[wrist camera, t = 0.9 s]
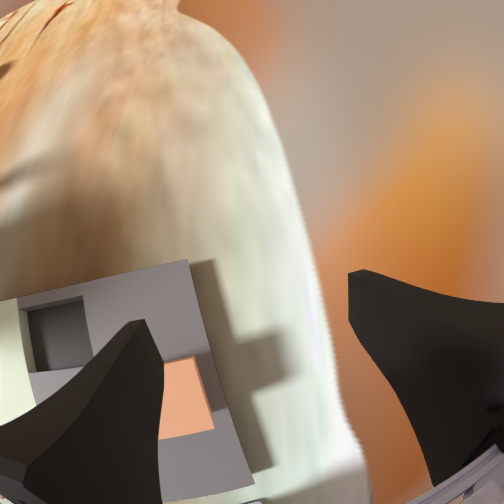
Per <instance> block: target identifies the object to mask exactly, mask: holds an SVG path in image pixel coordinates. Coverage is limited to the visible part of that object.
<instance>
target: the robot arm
mask: <svg viewBox="0 0 504 504" xmlns="http://www.w3.org/2000/svg"><path fill="white" fill-rule="evenodd" d="M348 296H349V322H350V324H351V326H352V328H353V330H354V332H355V334H356V336H357V338H358V339H359V341H360V343H361V344H362V346H363V347H364V348H365V350H366V351H367V352H368V354H369V355H370V357H371V358H372V359H373V361H374V362H375V364H376V365H377V366H378V368H379V369H380V371H381V372H382V373H383V375H384V376H385V378H386V379H387V380H388V382H389V383H390V385H391V386H392V388H393V389H394V391H395V392H396V394H397V397H398V398H399V400H400V402H401V404H402V406H403V408H404V410H405V412H406V414H407V416H408V418H409V421H410V423H411V425H412V427H413V429H414V432H415V434H416V437H417V439H418V442H419V444H420V447H421V449H422V452H423V455H424V458H425V461H426V464H427V467H428V470H429V473H430V477H431V481H432V484H433V486H434V488H433V489H431V490H429V491H428V492H426V493H424V494H422V495H420V496H419V497H417V498H415V499H413V500H411V501H409V502H407V503H405V504H448V503H450V502H451V501H453V500H454V499H456V498H457V497H459V496H460V495H461V494H463V493H464V492H465V494H464V496H463V501H462V503H460V504H504V303H491V302H482V301H474V300H467V299H462V298H457V297H452V296H448V295H443V294H439V293H436V292H432V291H429V290H425V289H422V288H419V287H416V286H413V285H410V284H407V283H404V282H401V281H398V280H396V279H393V278H390V277H387V276H384V275H381V274H378V273H375V272H372V271H368V270H364V269H363V270H359V271H355V272H352V273H348ZM163 393H164V361H163V359H162V357H161V355H160V352H159V350H158V348H157V346H156V344H155V342H154V339H153V337H152V335H151V333H150V330H149V328H148V326H147V323H146V321H145V319H140V320H134V321H129V322H128V323H127V324H125V325H124V326H123V327H122V328H121V329H120V330H119V331H118V332H117V333H116V334H115V335H114V336H113V337H112V338H111V340H110V341H109V342H108V343H107V344H106V345H105V346H104V347H103V348H102V349H101V350H100V351H99V352H98V353H97V354H96V355H95V356H94V357H93V358H92V359H91V360H90V361H89V362H88V363H87V364H86V365H85V366H84V367H83V368H82V369H81V370H80V371H79V372H78V373H77V374H76V375H75V376H74V377H73V378H72V379H71V380H70V381H68V382H67V383H66V384H65V385H64V386H63V387H61V388H60V389H59V390H58V391H56V392H55V393H54V394H53V395H51V396H50V397H48V398H47V399H46V400H44V401H43V402H41V403H40V404H38V405H37V406H35V407H34V408H33V409H31V410H29V411H28V412H26V413H24V414H23V415H21V416H19V417H17V418H15V419H13V420H12V421H10V422H8V423H6V424H3V425H1V426H0V494H1V495H2V496H4V497H5V498H6V499H8V500H9V501H11V502H12V503H14V504H163V503H162V497H161V489H160V479H159V466H158V436H159V426H160V418H161V409H162V401H163ZM0 504H1V503H0ZM248 504H263V503H262V502H260V501H255V502H251V503H248Z"/></svg>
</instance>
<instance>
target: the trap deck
mask: <svg viewBox="0 0 504 504" xmlns="http://www.w3.org/2000/svg"><path fill="white" fill-rule="evenodd" d="M140 319H145V321H146V323H147V326H148V328H149V330H150V333H151V335H152V337H153V339H154V342H155V344H156V346H157V348H158V350H159V352H160V355H161V357H162V359H163V361H164V362H169V361H173V360H178V359H182V358H187V357H191V356H195V359H196V362H197V366H198V369H199V373H200V376H201V379H202V383H203V386H204V389H205V392H206V396H207V399H208V402H209V405H210V408H211V411H212V416H213V422H214V427H215V429H211V430H206V431H202V432H198V433H193V434H188V435H183V436H178V437H172V438H167V439H160V440H158V466H159V479H160V489H161V497H162V502H170V501H178V500H185V499H191V498H197V497H202V496H208V495H213V494H217V493H222V492H226V491H231V490H235V489H239V488H242V487H246V486H250V485H253V484H255V482H254V480H253V477H252V474H251V472H250V469H249V466H248V464H247V461H246V458H245V456H244V453H243V450H242V447H241V444H240V442H239V439H238V436H237V433H236V430H235V427H234V424H233V421H232V418H231V415H230V412H229V409H228V406H227V403H226V400H225V396H224V393H223V390H222V387H221V383H220V380H219V377H218V374H217V370H216V367H215V363H214V360H213V356H212V353H211V349H210V346H209V342H208V339H207V335H206V331H205V328H204V324H203V320H202V316H201V312H200V309H199V305H198V301H197V297H196V293H195V289H194V284H193V280H192V276H191V272H190V267H189V263H188V259H185V260H181V261H176V262H172V263H167V264H163V265H158V266H154V267H149V268H145V269H140V270H136V271H131V272H127V273H122V274H118V275H114V276H109V277H105V278H100V279H96V280H91V281H87V282H83V283H78V284H74V285H70V286H65V287H61V288H57V289H52V290H48V291H44V292H39V293H35V294H31V295H26V296H22V297H18V298H13V299H9V300H5V301H1V302H0V426H1V425H3V424H6V423H8V422H10V421H12V420H13V419H15V418H17V417H19V416H21V415H23V414H24V413H26V412H28V411H29V410H31V409H33V408H34V407H35V406H37V405H38V404H40V403H41V402H43V401H44V400H46V399H47V398H48V397H50V396H51V395H53V394H54V393H55V392H56V391H58V390H59V389H60V388H61V387H63V386H64V385H65V384H66V383H67V382H68V381H70V380H71V379H72V378H73V377H74V376H75V375H76V374H77V373H78V372H79V371H80V370H81V369H82V368H83V367H84V366H85V365H86V364H87V363H88V362H89V361H90V360H91V359H92V358H93V357H94V356H95V355H96V354H97V353H98V352H99V351H100V350H101V349H102V348H103V347H104V346H105V345H106V344H107V343H108V342H109V341H110V340H111V338H112V337H113V336H114V335H115V334H116V333H117V332H118V331H119V330H120V329H121V328H122V327H123V326H124V325H125V324H127V323H128V322H129V321H134V320H140ZM0 498H1V499H4V498H5V497H4V496H2V495H1V494H0Z"/></svg>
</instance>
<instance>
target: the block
mask: <svg viewBox="0 0 504 504" xmlns="http://www.w3.org/2000/svg"><path fill="white" fill-rule="evenodd" d="M211 429H215V427H214V422H213V416H212V411H211V408H210V405H209V402H208V399H207V396H206V392H205V389H204V386H203V383H202V379H201V376H200V373H199V369H198V366H197V362H196V359H195V356H191V357H187V358H182V359H178V360H173V361H169V362H164V393H163V401H162V409H161V418H160V426H159V436H158V440H160V439H167V438H172V437H178V436H183V435H188V434H193V433H198V432H202V431H206V430H211Z"/></svg>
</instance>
